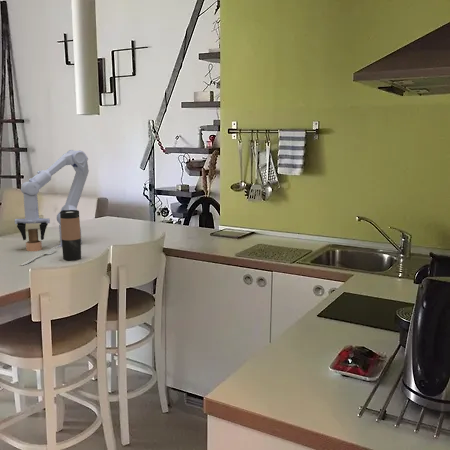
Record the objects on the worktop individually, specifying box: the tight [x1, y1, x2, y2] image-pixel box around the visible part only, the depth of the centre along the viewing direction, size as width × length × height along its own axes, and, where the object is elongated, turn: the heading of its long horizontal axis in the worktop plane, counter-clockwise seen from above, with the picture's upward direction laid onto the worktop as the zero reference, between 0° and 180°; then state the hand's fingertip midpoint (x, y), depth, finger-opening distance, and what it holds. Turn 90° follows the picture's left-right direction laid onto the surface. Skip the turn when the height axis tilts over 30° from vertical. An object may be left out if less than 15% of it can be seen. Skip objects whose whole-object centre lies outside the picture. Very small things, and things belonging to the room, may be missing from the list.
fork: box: [20, 246, 58, 266], centre depth 223 cm, size 3×24×2 cm, turn 164°
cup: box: [25, 239, 43, 252], centre depth 237 cm, size 6×6×4 cm
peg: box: [27, 228, 40, 243], centre depth 237 cm, size 4×4×9 cm
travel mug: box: [59, 209, 82, 262], centre depth 220 cm, size 8×8×20 cm
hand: (33, 239), depth 237 cm, fingers open, 7 cm apart
